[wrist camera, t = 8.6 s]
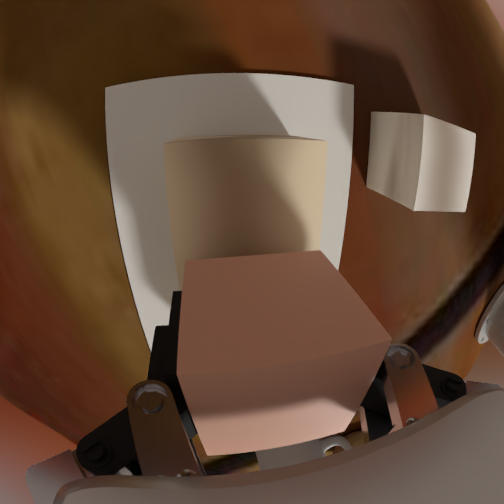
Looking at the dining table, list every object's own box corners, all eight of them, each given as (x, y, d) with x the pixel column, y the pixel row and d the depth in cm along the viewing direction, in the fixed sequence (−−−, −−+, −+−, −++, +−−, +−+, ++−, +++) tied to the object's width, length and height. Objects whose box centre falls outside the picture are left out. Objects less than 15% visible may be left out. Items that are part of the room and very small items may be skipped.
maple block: (289, 135, 14) (327, 140, 9) (285, 235, 16) (315, 278, 12) (177, 138, 13) (163, 143, 9) (185, 242, 16) (179, 290, 11)
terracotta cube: (320, 250, 10) (392, 339, 6) (306, 344, 12) (344, 430, 8) (185, 260, 9) (176, 373, 5) (200, 356, 12) (207, 455, 7)
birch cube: (424, 124, 15) (475, 133, 10) (417, 189, 17) (465, 212, 13) (370, 111, 14) (423, 114, 10) (365, 186, 16) (413, 210, 12)
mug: (266, 452, 32) (281, 512, 23) (243, 436, 28) (258, 511, 19) (342, 424, 32) (367, 484, 22) (333, 403, 28) (365, 477, 18)
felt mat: (351, 85, 13) (353, 84, 13) (321, 344, 22) (322, 347, 22) (106, 88, 11) (105, 87, 11) (156, 362, 20) (155, 364, 20)
